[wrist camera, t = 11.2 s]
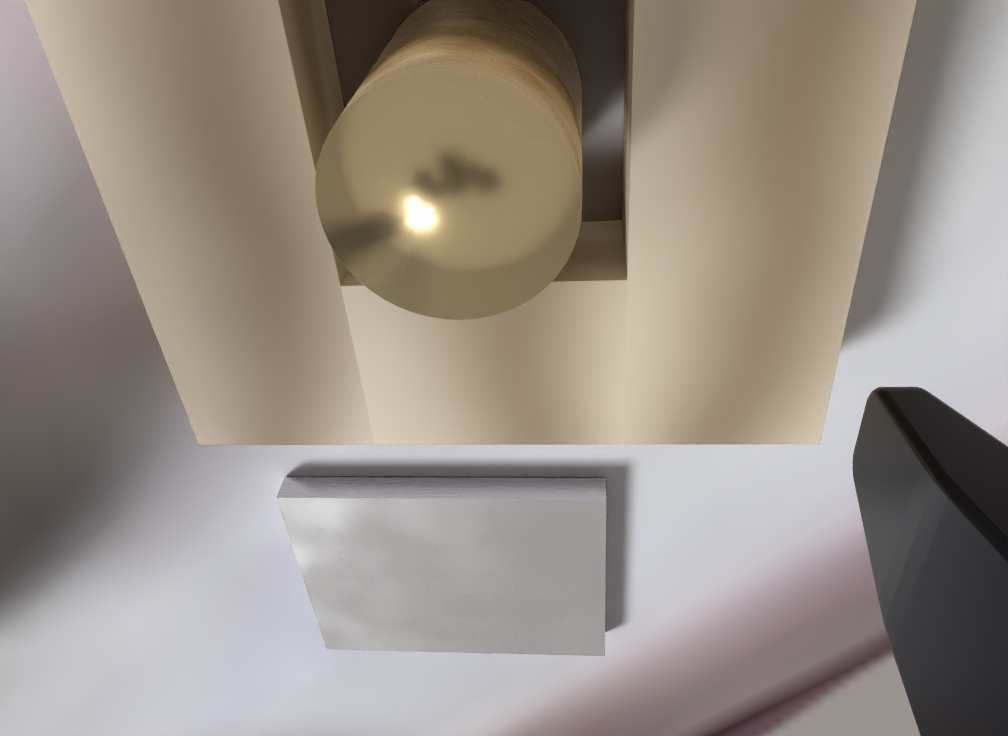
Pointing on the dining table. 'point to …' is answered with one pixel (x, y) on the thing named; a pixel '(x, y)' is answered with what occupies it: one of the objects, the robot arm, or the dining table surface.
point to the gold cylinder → (459, 161)
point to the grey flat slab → (452, 562)
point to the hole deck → (555, 310)
